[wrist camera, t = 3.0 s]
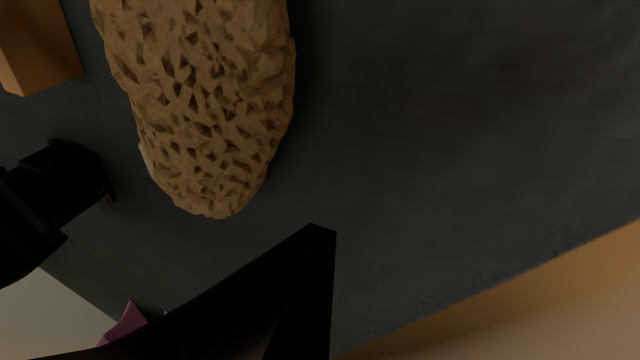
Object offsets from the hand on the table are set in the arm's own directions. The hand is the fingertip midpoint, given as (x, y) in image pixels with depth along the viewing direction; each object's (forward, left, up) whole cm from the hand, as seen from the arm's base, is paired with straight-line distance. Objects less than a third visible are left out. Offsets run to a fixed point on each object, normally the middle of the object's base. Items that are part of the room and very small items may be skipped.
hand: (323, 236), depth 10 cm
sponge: (0, +11, -12) cm, 17 cm away
